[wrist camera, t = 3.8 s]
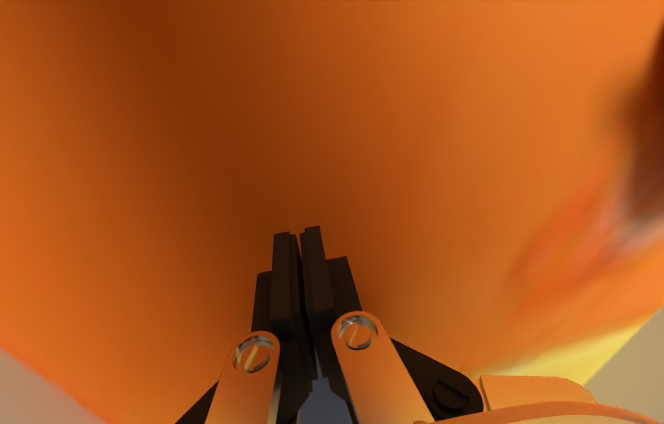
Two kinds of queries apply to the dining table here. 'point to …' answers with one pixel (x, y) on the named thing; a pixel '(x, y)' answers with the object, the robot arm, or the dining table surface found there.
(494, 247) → the dining table surface
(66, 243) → the dining table surface
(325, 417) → the ball
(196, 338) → the dining table surface
